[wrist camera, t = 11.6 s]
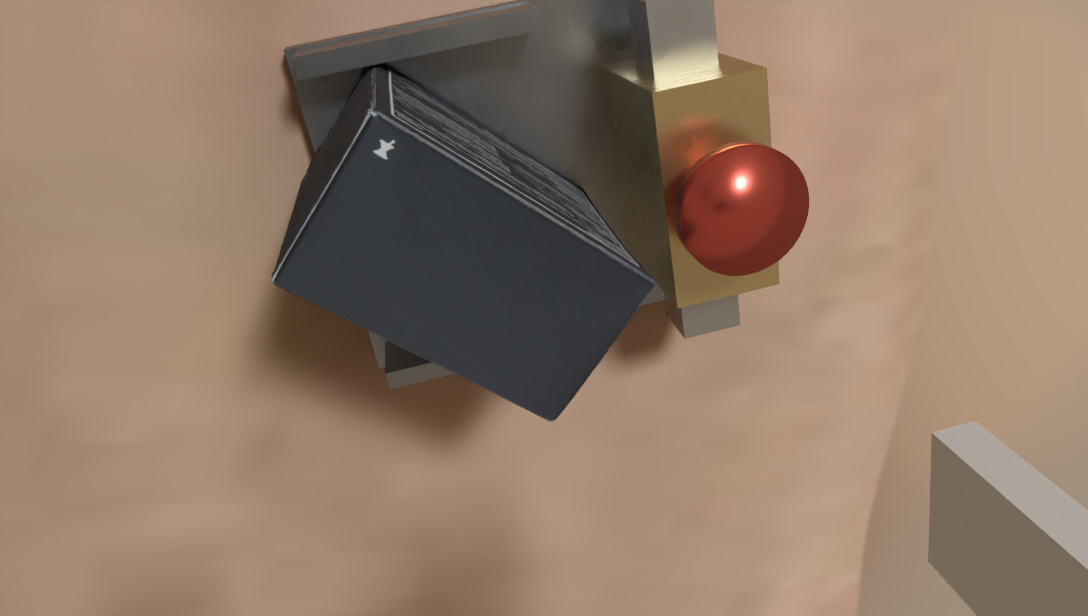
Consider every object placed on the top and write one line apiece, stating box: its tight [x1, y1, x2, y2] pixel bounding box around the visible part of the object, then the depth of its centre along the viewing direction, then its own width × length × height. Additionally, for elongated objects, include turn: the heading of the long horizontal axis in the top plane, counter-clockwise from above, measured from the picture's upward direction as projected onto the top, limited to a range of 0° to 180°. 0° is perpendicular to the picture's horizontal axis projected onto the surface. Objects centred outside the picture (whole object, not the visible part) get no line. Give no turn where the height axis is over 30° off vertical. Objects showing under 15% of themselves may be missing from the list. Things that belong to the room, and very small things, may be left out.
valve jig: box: [284, 0, 809, 390], centre depth 31 cm, size 16×14×10 cm
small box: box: [272, 63, 656, 421], centre depth 30 cm, size 11×6×10 cm, turn 56°
